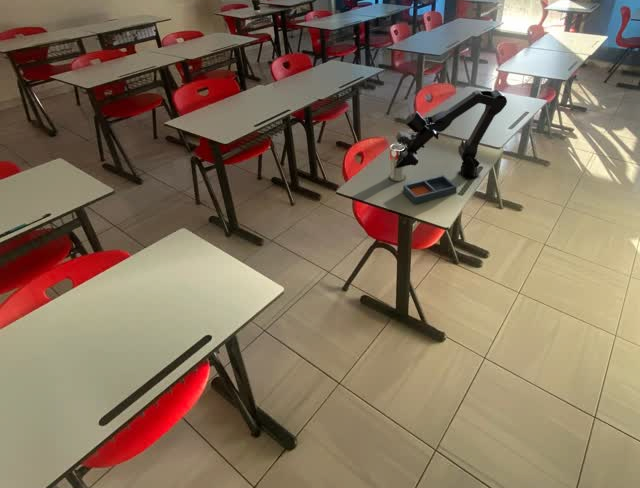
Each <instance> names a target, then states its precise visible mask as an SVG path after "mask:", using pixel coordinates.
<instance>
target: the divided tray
mask: <svg viewBox="0 0 640 488" xmlns="http://www.w3.org/2000/svg"><path fill="white" fill-rule="evenodd" d="M402 187H403V188H402V191H403V193H404V194H405V195H406V196H407V197H408V198H409V200H410V201H411V202H412V203H413V204H414V205H416V204H421V203H423V202H427V201H431V200H435V199H439V198H442V197H446V196H450V195H453V194H456V193H457V185H455V184H454V183H453V182H452V181H451V180H450V179H449V178H448V177H446V176H445V174H442V175H439V176H435V177H430V178H427V179H423V180H419V181H415V182H411V183H407V184H403V186H402Z"/></svg>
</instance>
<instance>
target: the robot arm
mask: <svg viewBox="0 0 640 488" xmlns="http://www.w3.org/2000/svg"><path fill="white" fill-rule="evenodd" d="M507 103H508V100H507V97H506V96H505V95H504V94H503V92H501V91H500V90H497V89H495V90H474V91H472V93H470V94H469V95H467V96H466V97H465V98H463V99H461V100H460V101H459V102H457V103H456V104H454V105H453V106H451V107H450V108H448V109H446V110H442V111H441V110H440V111H439V112H437V113H435V114H433V115H431V116H424V117H423V116H422V115H421V114H420V112H418V111H415V112H412V113H411V114H409V115H408V116H407V117H406V119H405V120H404V124H405V125H406V126H407V127H408V128H409V129H410V130H411V131H413V133H412V134H409V133H407V132H404V131H401V130H399V131H398V132H397V134H396V135H395V138H396V141H397V143H398V144H402V145H404V146H405V147H406V148H405V149H406V151H405V153H404V154H403V157H402V159H401V160H400V161H399V162H398V163H397V165H396V166H395V168H400V167H404V168H405V167H407V166H414V167H415V166H417V165H418V164H419V158H418V155H417V154H418V151H420V149H421V148H422V149H424V148H425V145H426V144H427V143H429V141H430V140H431V139H433V138H435V139H436V140H439V134H440V133H442V132H444V131H445V130H446V129H447V128H449V127H450V126H451V124H452V123H453V121H455V119H457V118H459V117H460V116H462V115H464V113H466V112H468V111H469V110H471V109H472V108H473V107H475V106H477V105H478V104H482V105H484V111H483V113H481V116H480V117H479V119H478V121H477V123H476V125H475V127H474V129H472V132H471V134H470V136H469V138H468V139H466V140H461V142H460V144H459V146H458V147H457V148H458V155H459V157H460V159H461V160H462V162H461V166H460V170H459V171H458V174H459V175H461V176H462V177H463V178H464V179H466V180H470V179H474V178H477V177H479V173H478V167H479V166H480V163H481V162H480V161H479V158H478V157H477V154H478V149H479V144H480V142H481V141H482V139H483V137H484V136H485V134H486V133H487V131H488V128H489V127H490V125H491V123H492V121H493V120H494V118H495V117H496V115H498V114H499V113H501V112H502V111H503V109H504V108H505V107H506V106H507Z"/></svg>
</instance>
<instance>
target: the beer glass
mask: <svg viewBox="0 0 640 488" xmlns="http://www.w3.org/2000/svg"><path fill="white" fill-rule="evenodd" d="M405 148H406V147H405V146H404V145H402V144H399V143H393V144H391V145H390V146H389V155H388V156H389V157H388V158H389V164H390V170H391V172H390V176H389V178H390V180H392V181H393V182H402V181H403V180H404V179H405V173H404V168H405V166H404V167H400V168H395V166H396V165H397V163H398V162H399V161H400V160H401V159H402V157H403V154H404V153H405V151H406V149H405Z"/></svg>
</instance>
